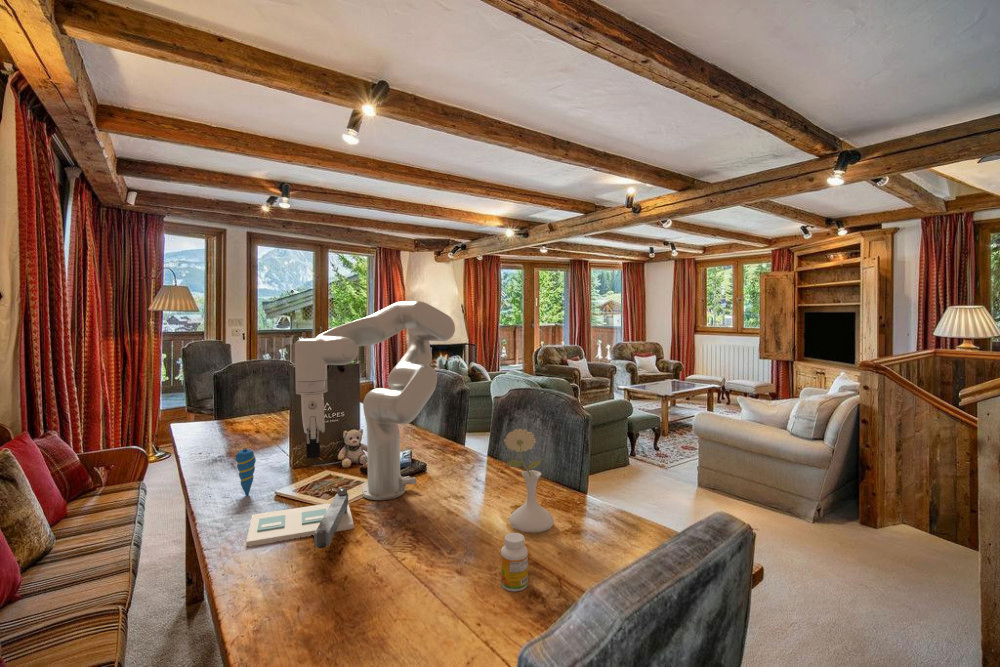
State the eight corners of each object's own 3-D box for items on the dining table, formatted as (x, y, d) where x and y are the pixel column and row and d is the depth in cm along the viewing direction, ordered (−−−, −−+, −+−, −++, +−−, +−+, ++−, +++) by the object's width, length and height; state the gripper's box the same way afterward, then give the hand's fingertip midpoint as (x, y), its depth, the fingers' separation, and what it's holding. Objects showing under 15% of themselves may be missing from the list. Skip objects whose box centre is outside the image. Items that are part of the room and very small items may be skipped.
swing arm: (337, 510, 128) (337, 488, 127) (349, 509, 128) (348, 487, 128) (314, 557, 103) (313, 530, 103) (328, 556, 104) (327, 529, 103)
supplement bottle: (499, 577, 98) (499, 531, 98) (525, 576, 99) (525, 530, 98) (502, 593, 93) (502, 544, 92) (529, 591, 93) (529, 543, 93)
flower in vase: (558, 520, 125) (558, 426, 123) (548, 540, 114) (548, 437, 113) (510, 513, 129) (510, 422, 128) (496, 532, 118) (496, 432, 117)
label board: (347, 504, 135) (347, 498, 135) (353, 528, 120) (353, 521, 120) (252, 519, 126) (252, 512, 125) (246, 546, 111) (246, 539, 111)
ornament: (247, 499, 139) (246, 448, 138) (232, 497, 140) (231, 447, 139) (260, 492, 144) (259, 443, 143) (245, 491, 145) (244, 442, 144)
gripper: (328, 390, 117) (330, 464, 118) (325, 381, 131) (327, 447, 132) (295, 392, 114) (297, 468, 115) (295, 383, 128) (297, 451, 129)
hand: (313, 457), depth 123 cm, fingers closed
